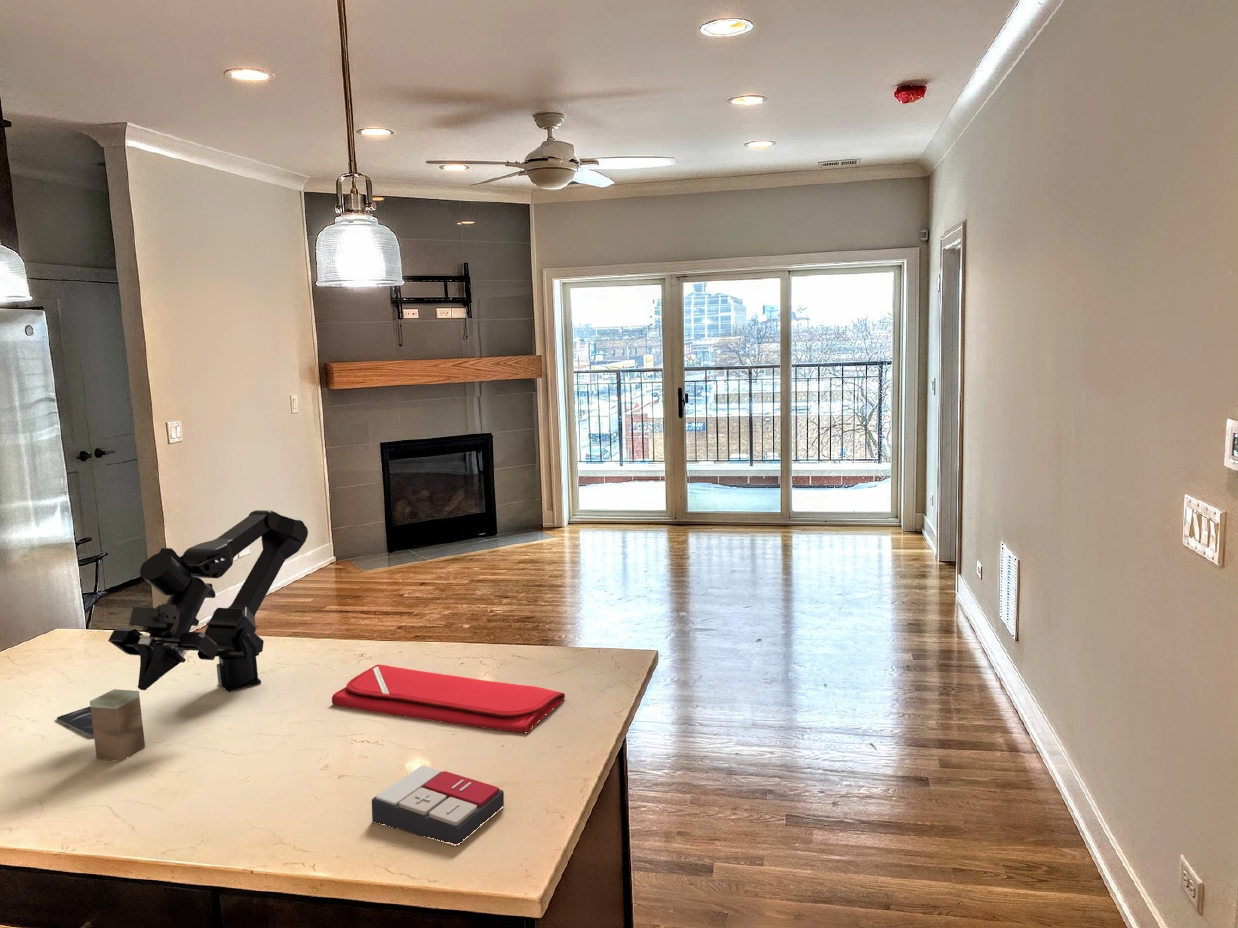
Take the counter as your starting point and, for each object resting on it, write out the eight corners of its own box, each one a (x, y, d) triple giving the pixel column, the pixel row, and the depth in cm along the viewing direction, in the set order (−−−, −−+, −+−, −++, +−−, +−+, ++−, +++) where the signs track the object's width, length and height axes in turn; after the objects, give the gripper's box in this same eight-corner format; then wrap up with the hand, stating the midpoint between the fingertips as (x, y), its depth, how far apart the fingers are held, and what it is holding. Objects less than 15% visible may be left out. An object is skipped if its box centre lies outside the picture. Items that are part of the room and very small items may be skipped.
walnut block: (120, 745, 148) (114, 689, 146) (145, 747, 147) (138, 691, 145) (96, 758, 143) (89, 701, 142) (121, 761, 142) (115, 703, 140)
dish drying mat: (526, 738, 146) (525, 717, 146) (329, 709, 161) (328, 689, 161) (565, 701, 161) (565, 682, 160) (381, 677, 176) (380, 660, 175)
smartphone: (97, 703, 165) (135, 720, 156) (97, 708, 165) (136, 725, 157) (53, 718, 159) (91, 736, 150) (54, 722, 159) (91, 741, 151)
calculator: (456, 824, 114) (369, 794, 120) (457, 854, 114) (370, 823, 121) (505, 785, 123) (421, 760, 130) (505, 813, 124) (422, 786, 131)
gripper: (111, 584, 154) (64, 666, 145) (200, 587, 150) (159, 672, 141) (149, 614, 163) (107, 693, 154) (235, 618, 158) (197, 700, 149)
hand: (141, 689), depth 149 cm, fingers closed
